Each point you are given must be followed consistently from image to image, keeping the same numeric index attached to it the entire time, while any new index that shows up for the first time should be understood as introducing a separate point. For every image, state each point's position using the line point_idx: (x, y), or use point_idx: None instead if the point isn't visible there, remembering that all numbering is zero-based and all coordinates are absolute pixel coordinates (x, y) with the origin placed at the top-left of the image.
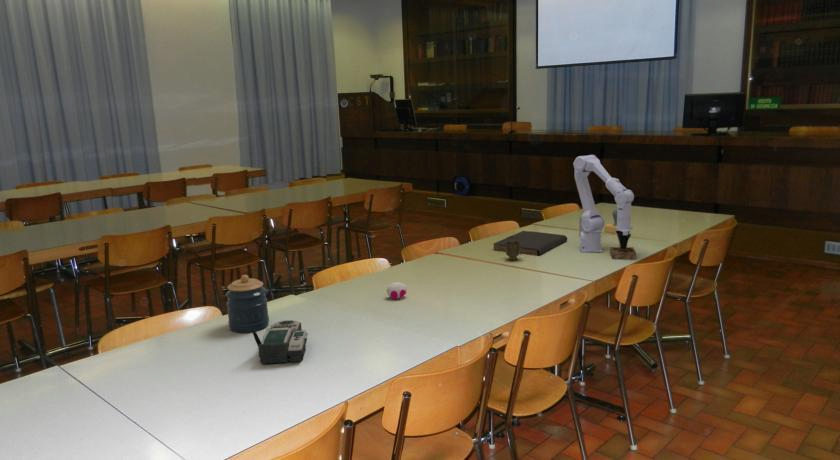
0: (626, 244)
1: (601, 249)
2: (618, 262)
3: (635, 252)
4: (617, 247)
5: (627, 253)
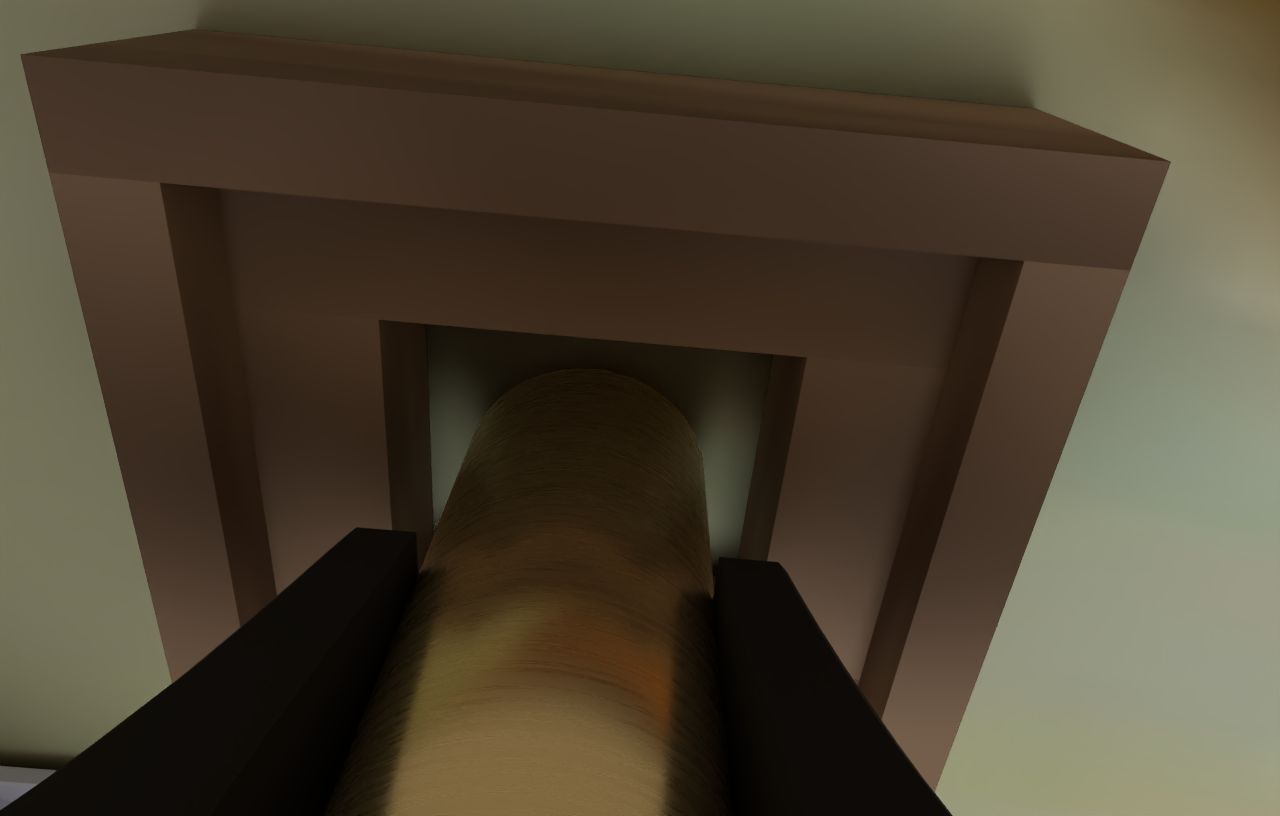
0: (861, 718)
1: (8, 785)
2: (1214, 643)
3: (1123, 188)
4: (211, 645)
5: (1027, 482)
